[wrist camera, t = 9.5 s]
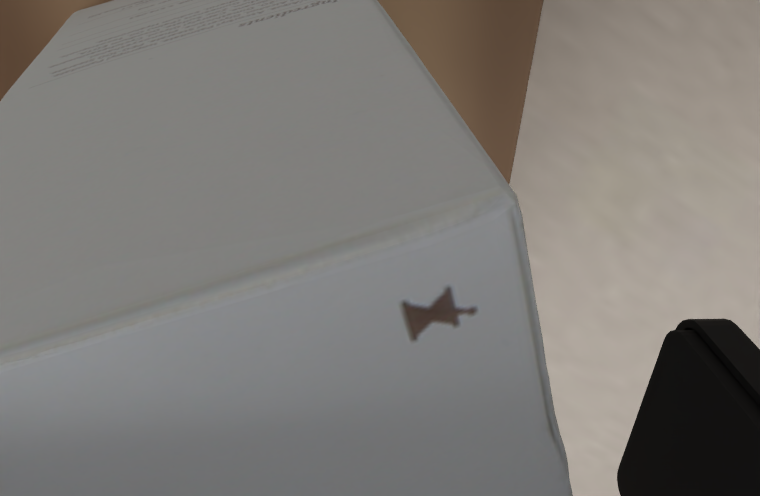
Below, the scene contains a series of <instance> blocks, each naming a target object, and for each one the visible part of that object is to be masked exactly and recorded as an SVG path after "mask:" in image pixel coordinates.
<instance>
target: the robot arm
mask: <svg viewBox="0 0 760 496" xmlns="http://www.w3.org/2000/svg"><path fill="white" fill-rule="evenodd" d="M617 481H618V488H619V492H620V495H621V496H760V349H759V348H758V347H757V346H756V345H755V344H754V343H753V342H752V341H751V340H750V339H749V338H748V337H747V336H746V334H745V333H744V332H743V331H742V330H741V329H740V328H739V327H738V326H737V325H736V324H735V323H733V322H732V321H731V320H727V319H688V320H684V321H682V322H681V323H680V324H679V325H678V326H677V328H676V330H674V331H670V332H669V333H668V334H667V335H666V337H665V339H664V342H663V344H662V347H661V350H660V353H659V356H658V359H657V361H656V364H655V367H654V370H653V373H652V375H651V378H650V381H649V384H648V387H647V390H646V392H645V395H644V398H643V401H642V404H641V406H640V409H639V412H638V415H637V418H636V421H635V423H634V426H633V429H632V432H631V435H630V437H629V440H628V443H627V446H626V449H625V452H624V454H623V457H622V460H621V463H620V466H619V469H618V473H617Z"/></svg>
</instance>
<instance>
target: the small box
mask: <svg viewBox="0 0 760 496" xmlns="http://www.w3.org/2000/svg"><path fill="white" fill-rule="evenodd" d="M0 496H573V495H572V490H571V485H570V481H569V471H568V462H567V457H566V452H565V448H564V444H563V441H562V439H561V436H560V432H559V428H558V424H557V420H556V416H555V412H554V406H553V400H552V394H551V388H550V382H549V376H548V371H547V367H546V361H545V353H544V346H543V339H542V333H541V328H540V322H539V317H538V311H537V305H536V300H535V294H534V289H533V282H532V275H531V269H530V263H529V257H528V251H527V245H526V239H525V233H524V226H523V219H522V214H521V211H520V207H519V203H518V199H517V196H516V194H515V193H514V191H513V190H512V189H511V187H510V186H509V184H508V183H507V181H506V180H505V178H504V177H503V175H502V174H501V173H500V171H499V170H498V168H497V167H496V165H495V164H494V162H493V161H492V160H491V158H490V157H489V156H488V154H487V153H486V151H485V150H484V149H483V147H482V146H481V144H480V143H479V142H478V140H477V139H476V137H475V136H474V134H473V133H472V132H471V130H470V129H469V127H468V126H467V124H466V123H465V122H464V120H463V119H462V117H461V116H460V115H459V113H458V112H457V110H456V109H455V107H454V106H453V105H452V103H451V102H450V100H449V99H448V98H447V96H446V95H445V93H444V92H443V91H442V89H441V88H440V86H439V85H438V84H437V82H436V81H435V79H434V78H433V77H432V75H431V74H430V72H429V71H428V70H427V68H426V67H425V65H424V64H423V62H422V61H421V59H420V58H419V57H418V55H417V54H416V52H415V51H414V49H413V48H412V47H411V45H410V44H409V43H408V41H407V40H406V38H405V37H404V36H403V34H402V33H401V32H400V30H399V29H398V27H397V26H396V25H395V23H394V22H393V21H392V19H391V18H390V16H389V15H388V14H387V12H386V11H385V10H384V8H383V7H382V6H381V5H380V3H379V2H378V1H377V0H113V1H109V2H106V3H103V4H99V5H96V6H92V7H89V8H85V9H81V10H78V11H76V12H74V13H73V14H72V15H71V16H70V17H69V18H68V19H67V21H66V22H65V23H64V25H63V26H62V27H61V28H60V29H59V30H58V32H57V33H56V34H55V35H54V37H53V38H52V39H51V40H50V42H49V43H48V44H47V45H46V46H45V48H44V49H43V50H42V51H41V52H40V54H39V55H38V56H37V57H36V58H35V59H34V60H33V62H32V63H31V64H30V65H29V66H28V68H27V69H26V70H25V71H24V72H23V74H22V75H21V76H20V77H19V78H18V80H17V81H16V82H15V83H14V84H13V86H12V87H11V88H10V89H9V90H8V92H7V93H6V94H5V96H4V97H3V98H2V100H1V101H0Z"/></svg>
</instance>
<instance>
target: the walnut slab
mask: <svg viewBox="0 0 760 496" xmlns="http://www.w3.org/2000/svg"><path fill="white" fill-rule="evenodd" d="M109 1H113V0H0V101H1V100H2V98H3V97H4V96H5V94H6V93H7V92H8V90H9V89H10V88H11V87H12V86H13V84H14V83H15V82H16V81H17V80H18V78H19V77H20V76H21V75H22V74H23V72H24V71H25V70H26V69H27V68H28V66H29V65H30V64H31V63H32V62H33V60H34V59H35V58H36V57H37V56H38V55H39V54H40V52H41V51H42V50H43V49H44V48H45V46H46V45H47V44H48V43H49V42H50V40H51V39H52V38H53V37H54V35H55V34H56V33H57V32H58V30H59V29H60V28H61V27H62V26H63V25H64V23H65V22H66V21H67V19H68V18H69V17H70V16H71V15H72V14H73V13H74V12H76V11H78V10H81V9H85V8H89V7H92V6H96V5H99V4H103V3H106V2H109ZM377 1H378V2H379V3H380V5H381V6H382V7H383V8H384V10H385V11H386V12H387V14H388V15H389V16H390V18H391V19H392V21H393V22H394V23H395V25H396V26H397V27H398V29H399V30H400V32H401V33H402V34H403V36H404V37H405V38H406V40H407V41H408V43H409V44H410V45H411V47H412V48H413V49H414V51H415V52H416V54H417V55H418V57H419V58H420V59H421V61H422V62H423V64H424V65H425V67H426V68H427V70H428V71H429V72H430V74H431V75H432V77H433V78H434V79H435V81H436V82H437V84H438V85H439V86H440V88H441V89H442V91H443V92H444V93H445V95H446V96H447V98H448V99H449V100H450V102H451V103H452V105H453V106H454V107H455V109H456V110H457V112H458V113H459V115H460V116H461V117H462V119H463V120H464V122H465V123H466V124H467V126H468V127H469V129H470V130H471V132H472V133H473V134H474V136H475V137H476V139H477V140H478V142H479V143H480V144H481V146H482V147H483V149H484V150H485V151H486V153H487V154H488V156H489V157H490V158H491V160H492V161H493V162H494V164H495V165H496V167H497V168H498V170H499V171H500V173H501V174H502V175H503V177H504V178H505V180H506V181H507V183H508V184H509V182H510V177H511V172H512V166H513V161H514V155H515V150H516V145H517V139H518V134H519V129H520V123H521V118H522V112H523V107H524V102H525V96H526V91H527V86H528V80H529V75H530V69H531V64H532V59H533V53H534V48H535V43H536V37H537V32H538V26H539V21H540V16H541V10H542V5H543V0H377Z"/></svg>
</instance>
